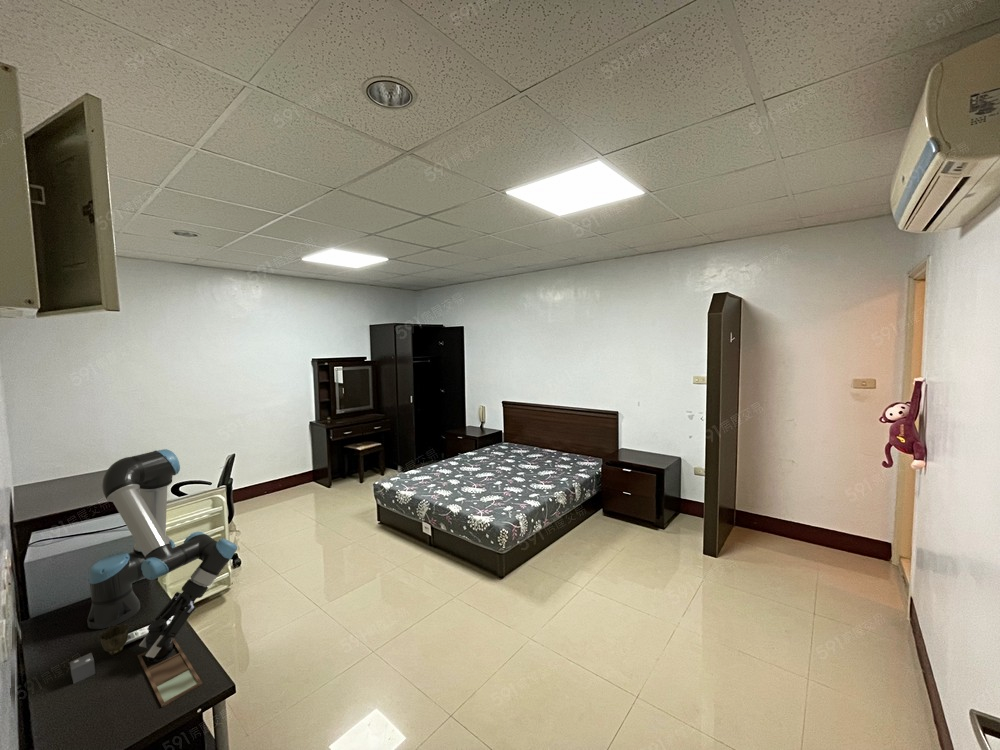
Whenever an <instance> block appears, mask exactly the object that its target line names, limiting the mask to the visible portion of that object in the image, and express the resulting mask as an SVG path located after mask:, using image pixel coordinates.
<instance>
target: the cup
mask: <svg viewBox="0 0 1000 750" xmlns="http://www.w3.org/2000/svg"><path fill="white" fill-rule="evenodd" d="M129 626H130V625H129V624H128V623H124V624H122V623H119V624H117V625H114V626H111V627H108V628H107V631H102V632H101V633H100V634H99V640H100V644H101V646H102V649H103V650H104V651H105V652H108V654H109V655H117V654H119V653H121V652H122V651H123V650H124V646H125V645H126V643H127V641H128V638H129V628H130V627H129Z"/></svg>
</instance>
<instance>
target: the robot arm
mask: <svg viewBox="0 0 1000 750" xmlns="http://www.w3.org/2000/svg"><path fill="white" fill-rule="evenodd" d="M180 471H181V464H180V461H179V459H178V457H177V456H176V454H175V452H173V451H171V450H170V449H167V448H164V449H159V450H156V449H155V450H154V451H153V450H152V451H149V452H145V453H141V454H137V455H132V456H127V457H124V458H121V459H119V460H116V461H115V462H114V463H112V464H111V465H110V466H109V467H108V469H107V470H106V472H105V474H104V476H103V478H102V493H103V496H104V497H105V499H106V501H108V502H111V503H113V505H114V506H115V508H116V510H117V512H118V513H119V515H120V517H121V519H122V520H123V522H124V524H125V526H126V527H127V529H128V530H129V532H130V534H131V536H132V537H133V539H134V544H133V551H132V552H129V553H128V552H125V551H122V552H116V553H115V554H114V553H112V554H110V555H108V556H105V557H103V558H101V559H99V560H97V561H96V562H95V563H94V564H93V565H92V566H91V567H90V569H89V571H88V583H89V590H90V598H91V606H90V610H89V613H88V617H87V619H86V621H87V622H86V623H87V627H88V628H89V629H90V630H103V629H108V628H109V627H111V628H112V627H113V626H114V625H120V624H122V623H124V622H126V621H127V620H129V619H131V618H132V617H134V616H135V615H136V614H138V612H139V611H140V609H141V602H140V599H139V598H138V597H137V595H136V593H135V592H134V590H133V583H135V582H138V581H140V580H143V579H144V578H146V579H147V580H149V581H153V580H156V579H158V578H160V577H163V576H166V575H167V574H169V573H172V572H173V571H175V570H177V569H179V568H181V567H183V566H186V565H187V564H189V563H192V562H194V561H196V560H197V559H199V560H200V561H201V562H200V564H199V565H198V566H197V567H196V569H195V570H194V572H193V573H192V574H191V575H190V578H188V579H187V581H186V582H185V583H184V584H183V586H182V587H181V591H182V592H179V591H176V592H175V593H174V595H173V597H172V598H171V600H169V601H168V603H167V604H166V605H165V606H164V607H163V608H162V610H161V611H160V612H159V613H158V614H157V616H155V619H154V621H156V620H159V619H166V621H167V622H168V621H170V623H169V624H167V626H168V627H167V629H166V631H165V632H164V633H162V634H161V635H160V637H159V638H158V639H157V641H156V642H155V643H154V645H153V646H152V647H151V649H150V650H149V651H148V652H147V654H146V655H144V656H145V657H146V658H147V657H151V658H154V657H155V656H156V654H157V653H158V652H159V650H160V649H161V648H162V647H163V645H164V644H165V643H166V641H167V640H168V639H169V638H170V637H172V639H175V637H176V636H177V635H178V634H179V632H180V630H181V629H182V627H184V625H185V624H186V622H187V620H188V619H189V618H190V616H191V615H192V613H193V612H195V610H196V608H197V607H196V606H194V604H195V602H196V600H197V599H200V598H202V597H203V596H204V594H205V593H206V592H207V591H208V590H209V587H211V585H212V584H213V582H214V581H215V580H216V579H217V577H218V576H219V574H220V573H221V572H222V570H223V569H224V568H225V567H226V565H227V564H228V562H230V561H231V560H232V558H233V556H234V555H235V553H236V551H237V550H238V545H237V544H236V543H234V542H232V541H231V540H228V539H227V538H224V537H223V538H220V539H219V540H218V541H217V540H215V539H214V538H212V537H211V536H210V535H208V534H207V533H203V532H201V531H195V532H192V533H190V535H189V536H187V537H186V538H185V539H184V541H183V543H181V544H179V545H176V544H175V542H174V540H173V539H171V538H170V537H169V536H168V535H166V531H167V507H168V505H167V504H168V487H169V486H170V485H171V484H172V483H173V477H174V476H176V475H178V474H179V473H180ZM170 619H171V620H170ZM138 646H139V647H142V648H146V636H145V637H144V638H143V640H142V641H141V642H140V643H139V645H138Z"/></svg>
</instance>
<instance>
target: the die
mask: <svg viewBox="0 0 1000 750" xmlns="http://www.w3.org/2000/svg"><path fill="white" fill-rule="evenodd" d="M69 665H70V668H69V669H70V674H71V679H72V682H73V684H77V683H79V682H81V681H83V680H86V679H87V678H89V677H91V676H93V675H95V674H96V667H95V665H96V664H95V659H94V657H93V653H92V652H90V653H87V654H85V655H83V656H80V657H78V658H76V659H73V660H71V661H69Z"/></svg>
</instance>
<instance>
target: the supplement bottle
mask: <svg viewBox="0 0 1000 750" xmlns="http://www.w3.org/2000/svg"><path fill="white" fill-rule="evenodd" d="M167 622H168V621H166V619H159V620H154V621H153V622H151V623H150V624H149V625H148V627H147V628H148V629H147V630H148V631H147V632H148V633H147V634H146V635H145V637H146V649H145V650H146V651H147V652H148V651H149V650H150V649H151V647H152V646H153V645H154V643H155V642H156V641H157V639H158V638H159V637H160V635H161V634H162V633H164V632H165V631H166V629H167V627H168V623H167ZM172 639H173V637H170V638H169V639H168V640H167V641H166V643H165V644H164V645H163V647H162V648H161V649H160V650H159V652H158V653H157V654H156V656H155V657H154V658H151V657H147V656H146V658H147V661H148V663H151V664H152V663H160V662H162V661H164V660H166V659H168V658H169V657H170V656H171V654H172V653H173V651H174V644H173V642H172Z"/></svg>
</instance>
